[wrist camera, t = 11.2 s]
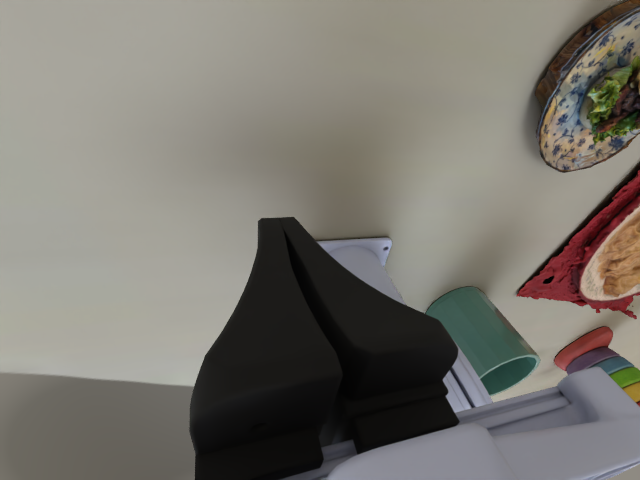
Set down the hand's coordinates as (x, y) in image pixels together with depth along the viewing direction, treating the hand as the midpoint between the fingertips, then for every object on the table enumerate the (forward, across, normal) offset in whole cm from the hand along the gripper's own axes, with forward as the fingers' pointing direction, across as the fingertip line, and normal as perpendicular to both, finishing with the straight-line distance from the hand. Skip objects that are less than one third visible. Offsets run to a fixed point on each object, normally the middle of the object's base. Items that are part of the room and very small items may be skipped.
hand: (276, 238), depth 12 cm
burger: (+10, -26, -4) cm, 28 cm away
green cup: (+10, -24, +20) cm, 33 cm away
